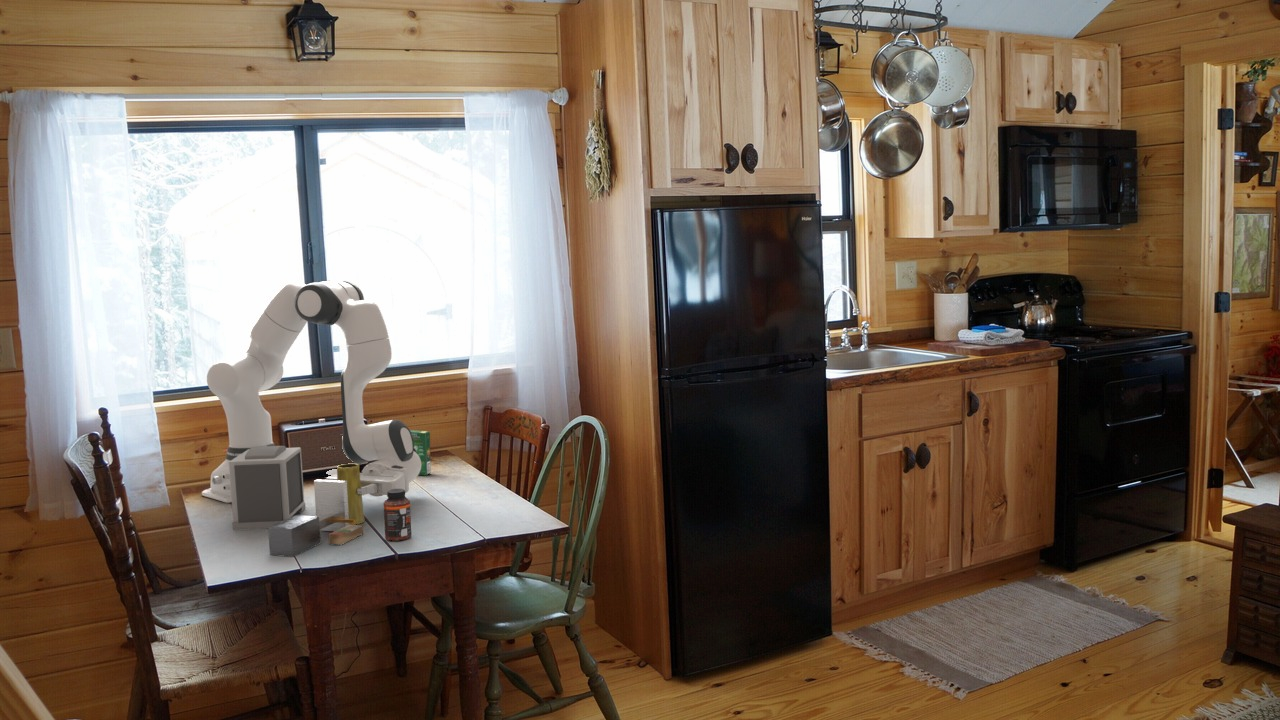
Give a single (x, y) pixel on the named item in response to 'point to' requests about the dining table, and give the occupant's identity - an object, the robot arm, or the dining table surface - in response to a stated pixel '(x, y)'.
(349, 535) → the rail
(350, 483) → the vase
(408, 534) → the supplement bottle
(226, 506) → the dining table surface
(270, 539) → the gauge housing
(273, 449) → the grey box
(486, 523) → the dining table surface
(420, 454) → the coffee box
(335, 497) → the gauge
